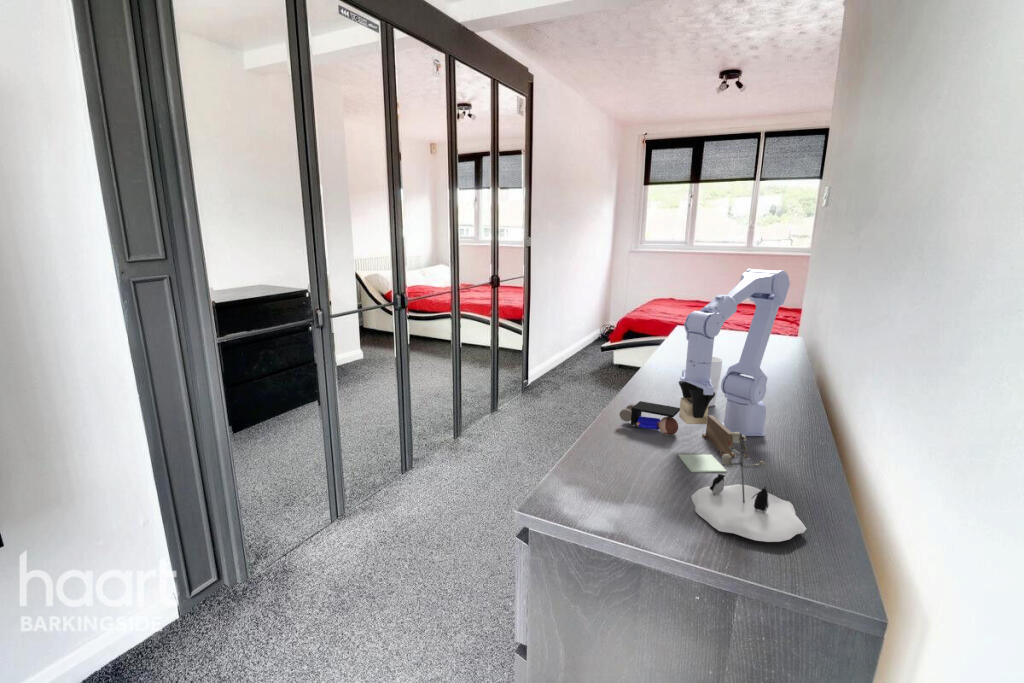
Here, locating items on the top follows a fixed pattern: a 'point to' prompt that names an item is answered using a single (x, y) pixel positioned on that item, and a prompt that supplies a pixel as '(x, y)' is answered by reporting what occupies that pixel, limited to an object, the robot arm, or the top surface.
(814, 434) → the top surface
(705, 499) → the figurine
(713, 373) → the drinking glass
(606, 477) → the top surface
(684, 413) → the letter cube
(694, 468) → the pad
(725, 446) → the brown piece
